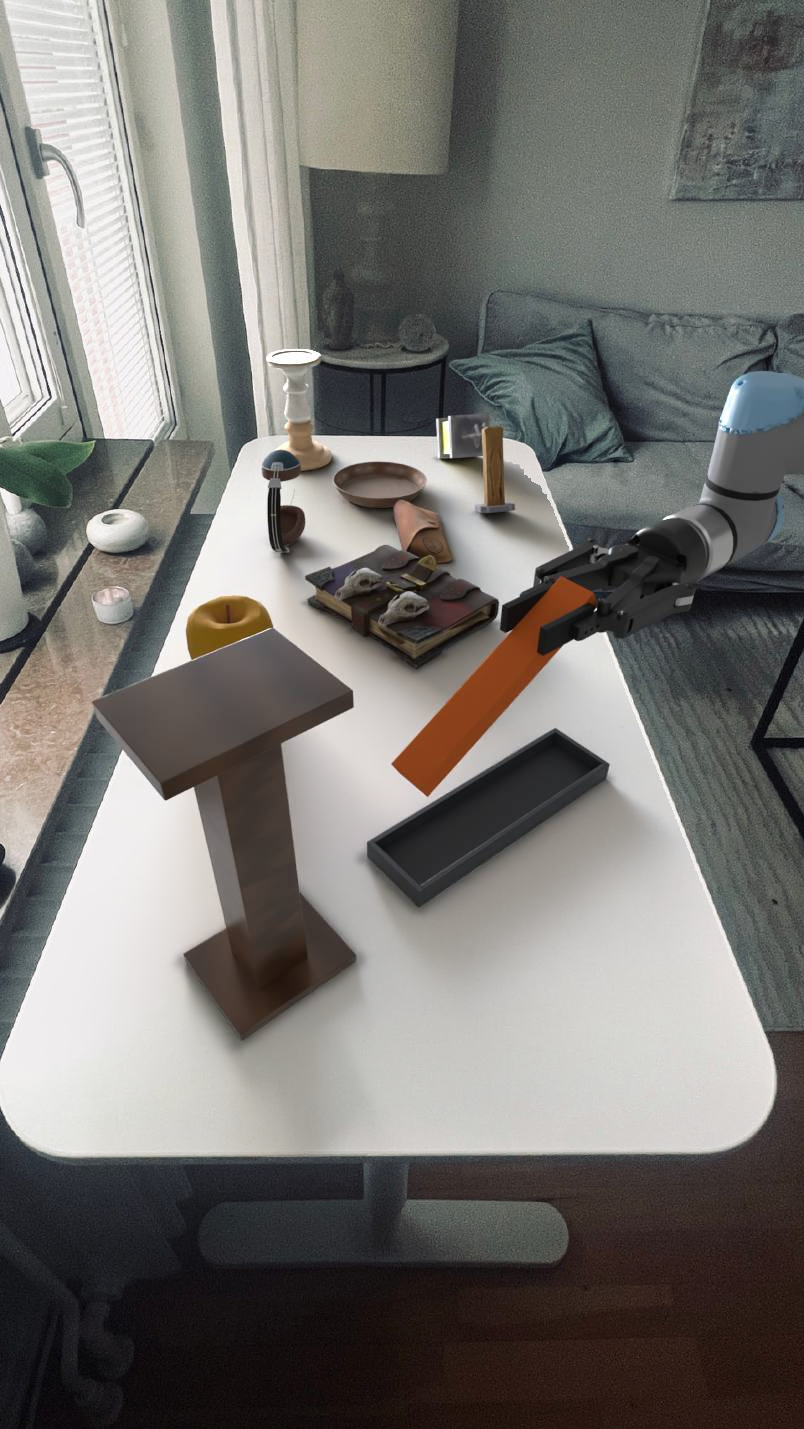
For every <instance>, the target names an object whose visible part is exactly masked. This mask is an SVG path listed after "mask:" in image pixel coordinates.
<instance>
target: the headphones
mask: <svg viewBox="0 0 804 1429" xmlns="http://www.w3.org/2000/svg"><path fill="white" fill-rule="evenodd" d="M301 474H302V471H301V465H300V462H299V460H298V459H297V458H296V457H295V456H294V455H293V454H292V453H291V452H289V451H287V450H283V449H279V450H275V449H274V450H272V451H271V452H270V453H268V454H267V455H266V456H265V458H264V459H263V461H262V462H261V475H262V477H263V478H264V479H265V480H267V481H268V484H267V489H268V491H267V499H266V501H267V503H266V504H267V505H266V506H267V508H266V510H267V512H266V515H267V532H268V539H269V544H270V548H271V549H272V551H273V552H275V553H279V554H281V553H282V554H285V553H290V548H289V547H288V546H290V545H293V544H294V543H296V542H297V541H298V540H299V539H300V537H301V536H302V535H303V533H304V531H305V528H306V515H305V514H306V513H305V512H304V510H303V509H302V508H301V507H299V506H296V505H292V503H293V499H294V496H295V494H293V496H292V499H291V502H290V504H283V505H282V497H281V496H282V494H281V490H282V482H283V483H284V482H288V481H291V480H295V479H296V478H298V477H300V475H301ZM293 492H295V488H294V489H293Z"/></svg>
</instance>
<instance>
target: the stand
mask: <svg viewBox="0 0 804 1429" xmlns="http://www.w3.org/2000/svg"><path fill="white" fill-rule="evenodd" d="M354 700H355V699H354V690H353V689H352V688H351V687H349V686H348V685H347V684H345V683H344V682H343V681H342V680H340V679H339V678H338V677H336V676H335V675H334V674H333V673H331V671H329V670H328V669H327V668H325V667H324V666H323V665H322V664H320V663H318V661H317V660H315V659H314V658H312V657H311V656H310V655H309V654H307V653H306V652H305V651H303V650H302V649H301V648H300V647H298V646H297V645H296V644H294V642H292V641H291V640H289V638H287V637H286V636H285V635H283V633H281V632H279V631H278V630H277V629H276V628H274V627H273V628H270V629H268V630H265V631H263V632H260V633H258V634H255V635H253V636H250V637H248V638H246V639H243V640H241V641H238V642H236V643H233V644H231V645H228V646H226V647H223V648H221V649H219V650H216V651H214V652H211V653H209V654H206V655H204V656H201V657H199V658H196V659H194V660H189V661H187V662H184V663H181V664H180V665H176V666H174V667H172V668H169V669H167V670H164V671H162V672H159V673H157V674H154V675H152V676H150V677H147V678H145V679H142V680H140V681H138V682H135V683H133V684H131V685H128V686H125V687H123V688H121V689H118V690H115V691H113V692H111V693H108V694H106V695H103V696H100V697H98V698H96V699H93V700H91V704H92V708H93V710H94V714H95V717H96V719H97V720H98V721H99V723H100V725H101V726H102V727H103V728H104V729H105V730H106V731H107V733H109V735H110V737H112V739H113V740H114V741H115V743H117V745H118V746H119V747H120V748H121V750H123V752H124V754H126V756H127V757H128V758H129V760H131V761H132V763H133V764H134V765H135V767H136V768H137V770H139V772H140V773H141V774H142V775H143V777H144V778H145V779H146V780H147V781H148V782H149V783H150V785H151V786H152V788H154V789H155V791H156V792H157V793H158V794H159V796H160V797H161V798H162V799H163V800H164V801H165V802H166V801H168V800H170V799H172V798H174V797H177V796H178V795H181V794H182V793H184V792H187V791H189V790H191V789H193V791H194V795H195V800H196V803H197V807H198V811H199V816H200V820H201V825H202V829H203V833H204V838H205V843H206V846H207V851H208V856H209V859H210V864H211V869H212V873H213V878H214V882H215V886H216V891H217V895H218V899H219V904H220V908H221V911H222V912H221V913H222V916H223V920H224V925H225V928H224V929H221V930H220V931H219V932H217V933H215V934H213V935H212V936H210V937H209V938H207V939H205V940H204V941H202V942H200V943H199V944H197V945H196V946H193V947H192V948H190V949H189V950H187V951H186V952H183V958H184V962H185V963H186V964H187V966H188V967H189V968H190V970H191V971H192V973H193V974H194V976H195V977H196V978H197V980H198V981H199V983H200V984H201V985H202V987H203V988H204V990H205V991H206V993H207V994H208V995H209V997H210V999H211V1000H212V1001H213V1002H214V1004H215V1005H216V1007H217V1008H218V1010H219V1011H220V1012H221V1014H222V1015H223V1017H224V1018H225V1020H226V1021H227V1023H228V1024H229V1026H230V1027H231V1028H232V1030H233V1032H234V1033H235V1034H236V1035H237V1037H238V1038H239V1040H240V1041H243V1040H246V1039H247V1038H248V1037H249V1036H250V1035H252V1034H253V1033H256V1031H258V1030H259V1029H261V1028H262V1027H264V1026H265V1025H266V1024H268V1023H269V1022H271V1021H272V1020H274V1019H275V1018H276V1017H278V1016H279V1015H281V1014H282V1013H284V1012H285V1011H287V1010H288V1009H289V1008H291V1007H293V1006H294V1005H295V1004H296V1003H298V1002H299V1001H301V1000H302V999H304V998H306V997H307V996H308V995H309V994H311V993H313V992H314V991H315V990H317V989H319V988H320V987H322V986H323V985H325V983H327V982H329V981H330V980H331V979H333V978H334V977H336V976H337V975H339V974H340V973H342V972H343V971H344V970H346V969H347V968H348V967H350V966H352V965H353V964H354V963H356V962H357V954H356V953H355V952H354V951H353V949H352V948H351V947H349V945H348V944H347V943H346V942H345V940H343V939H342V937H341V936H340V935H339V934H338V933H337V932H336V931H335V930H334V928H333V927H332V926H331V925H330V924H329V923H328V922H327V920H326V919H325V918H324V917H323V916H322V915H321V914H320V913H319V911H317V909H316V908H315V907H314V906H313V905H312V904H311V903H310V902H309V901H308V899H307V898H306V897H305V896H304V895H303V894H302V892H301V891H300V883H299V875H298V867H297V860H296V850H295V842H294V837H293V836H294V835H293V828H292V827H293V826H292V820H291V810H290V804H289V796H288V788H287V787H288V786H287V780H286V779H287V778H286V772H285V763H284V757H283V756H284V755H283V748H282V744H283V743H285V742H287V741H289V740H291V739H293V738H295V737H298V736H299V735H302V734H303V733H306V732H308V731H310V730H311V729H313V728H316V727H317V726H319V725H321V724H323V723H325V722H328V721H330V720H331V719H333V718H335V717H338V716H340V715H342V714H344V713H346V712H348V711H350V710H352V709H354V708H355V704H354Z"/></svg>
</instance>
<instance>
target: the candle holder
mask: <svg viewBox="0 0 804 1429" xmlns="http://www.w3.org/2000/svg"><path fill="white" fill-rule="evenodd" d="M265 361H266V364H267V365H268V366H269V367H271V368H274V369H277V370H281V372H282V373H283V374H284V376H285V378H286V383H285V384H284V385H283V387H282V390H283V391H284V392H285V393H286V403H285V407H284V414H283V415H284V417H285V419H286V420H288V421H287V422H286V424H285V425H284V430H285V431H286V432H287V433H288V441H286V442H283V444H281V445H280V446H279V447H277V448H276V449H274V451H275V450H279V449H283V450H287V451H289V452H291V453H292V454H293V455H294V456H295V457H296V458H297V459H298V460H299V462H300V465H301V472H302V471H311V470H317V469H320V468H323V467H325V466H326V465H328V464H329V463H330V462H331V460H332V451H331V450H330V448H329V447H327V446H325V445H323V444H321V443H320V442H319V441H315V440H313V438H312V432H313V430H314V428H315V425H314V423H313V422H312V421H311V420H310V419H311V417H312V416H313V411H312V408H311V405H310V403H309V397H308V395H307V392H308V391H309V390H310V386H309V384H307V383H306V381H305V376H306V373H307V372H308V371H309V369H310V368H314V367H316V366H319V364H321V362H322V355H321V353H319V352H316V351H313V350H311V349H302V348H301V349H300V348H299V349H298V348H295V349H294V348H291V349H282V350H281V349H280V350H276V351H273V352H271V353H269V354H268V355H267V356H266V359H265Z"/></svg>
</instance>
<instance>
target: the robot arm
mask: <svg viewBox="0 0 804 1429" xmlns="http://www.w3.org/2000/svg"><path fill="white" fill-rule="evenodd" d="M786 475H804V378H802V377H800V376H798V375H795V374H791V373H786V372H781V373H780V372H776V371H770V370H765V371H764V370H761V371H751V372H747V373H745V374H743V375H740V376H739V377H738V378H736V379H735V380H734V382H733V383H732V385H731V387H730V390H729V393H728V394H727V397H726V400H725V403H724V406H723V410H722V412H721V415H720V417H719V421H718V427H717V432H716V437H715V441H714V445H713V449H712V452H711V458H710V462H709V467H708V470H707V474H706V478H705V480H704V484H703V487H702V490H701V491H702V492H701V496H700V499H699V501H698V502H697V503H694V504H692V505H690V506H688V507H686V508H683V509H681V510H680V511H677V512H674V513H673V514H670V515H668V516H666V517H664V518H663V519H661V520H658V521H656V522H654V523H652V524H649V525H647V526H645V527H642V528H641V529H640V530H638V531H637V532H636V533H635V534H634V535H633V536H632V537H631V538H630V539H629V540H628V542H626V543H625V544H618V545H613V546H611V547H610V548H605V547H601V546H599V545H598V544H597V543H598V540H597V539H596V538H594V537H586V538H585V539H584V541H583V542H582V543H581V544H580V545H579V546H577V547H575V548H573V549H571V550H569V551H567V552H565V553H563V554H561V555H559V556H557V557H554V558H553V559H551V560H549V561H547V562H545V563H543V564H541V565H539V566H537V567H536V568H535V569H534V577H533V584H532V587H529V588H527V589H525V590H523V591H522V592H520V593H519V596H518V597H516V598H513V599H512V600H510V601H507V602H506V603H503V604H502V605H501V612H500V621H499V622H500V623H499V631H500V632H502V633H504V634H507V633H510V632H511V631H512V630H513V629H514V628H515V626H516V625H517V624H518V623H519V622H520V621H521V620H522V619H523V618H524V616H525V615H526V614H527V613H528V612H529V611H530V610H531V609H532V608H533V607H534V605H535V604H536V603H537V602H538V601H539V600H540V599H541V598H542V597H543V595H544V594H545V593H546V592H547V591H548V590H549V589H550V588H551V587H552V586H553V584H554V583H555V582H556V581H557V580H558V579H559V578H560V577H561V576H562V577H564V578H566V579H568V580H570V581H572V582H574V583H575V584H577V585H579V586H581V587H583V588H585V589H587V590H589V591H591V592H594V591H598V590H600V591H602V592H607V591H610V590H614V589H615V590H614V591H613V592H612V593H611V594H609V595H608V596H607V597H606V598H605V599H604V598H601V597H599V598H598V602H597V605H598V607H597V608H596V609H595V605H593V604H591V603H587V604H585V605H582V606H581V607H579V608H577V609H575V610H573V611H571V612H569V613H567V614H565V615H563V616H561V617H559V618H557V619H555V620H553V621H551V622H549V623H547V624H545V625H543V626H541V627H540V633H539V640H538V647H537V653H539V654H541V655H542V656H544V655H546V654H548V653H549V652H551V651H553V650H555V649H557V648H559V647H561V646H562V647H563V646H565V645H566V644H568V643H570V642H572V641H574V640H575V641H576V642H581V641H584V640H586V639H587V638H590V637H591V636H593V635H595V634H597V633H600V634H602V633H606V632H611V633H613V637H614V638H616V639H619V640H624V639H626V638H627V637H630V636H632V635H634V634H636V633H637V632H640V631H641V630H644V629H645V628H647V627H649V626H651V625H653V624H655V623H657V622H660V621H661V620H664V619H665V618H667V617H669V616H671V615H673V614H679V613H684V612H690V610H691V607H692V604H693V600H694V596H695V593H696V589H697V586H696V585H695V583H697V582H699V581H701V580H703V579H705V578H706V577H708V576H710V575H712V574H714V573H716V572H717V571H719V570H721V569H723V568H724V567H726V566H728V565H730V564H732V563H734V562H736V561H738V560H740V559H742V558H744V557H747V556H749V555H752V554H754V553H756V552H758V551H759V550H760V549H761V548H762V547H764V546H765V545H767V543H769V542H770V541H772V540H773V539H774V538H775V537H776V536H777V535H778V534H779V533H780V531H781V530H782V528H783V525H784V523H785V520H786V510H785V509H786V508H785V504H784V499H783V496H782V495H781V493H780V490H781V487H782V484H783V481H784V478H785V477H786ZM594 609H595V610H594ZM562 647H561V648H562Z"/></svg>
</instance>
